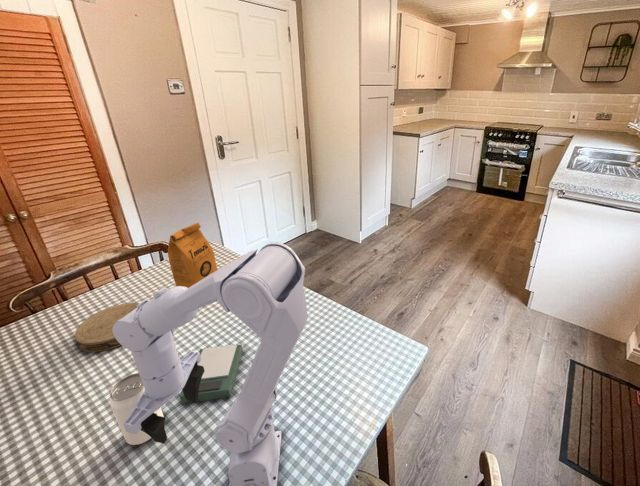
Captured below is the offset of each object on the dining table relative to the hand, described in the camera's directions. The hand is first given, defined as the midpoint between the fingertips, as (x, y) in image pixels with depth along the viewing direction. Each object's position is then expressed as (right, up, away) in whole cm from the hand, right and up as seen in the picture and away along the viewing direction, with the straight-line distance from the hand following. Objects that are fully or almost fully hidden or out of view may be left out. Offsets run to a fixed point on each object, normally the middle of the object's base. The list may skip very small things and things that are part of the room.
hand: (177, 418), depth 57 cm
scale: (-1, 0, +16) cm, 16 cm away
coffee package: (-23, +13, +49) cm, 56 cm away
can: (-9, -5, +4) cm, 11 cm away
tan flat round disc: (-36, +5, +29) cm, 46 cm away
